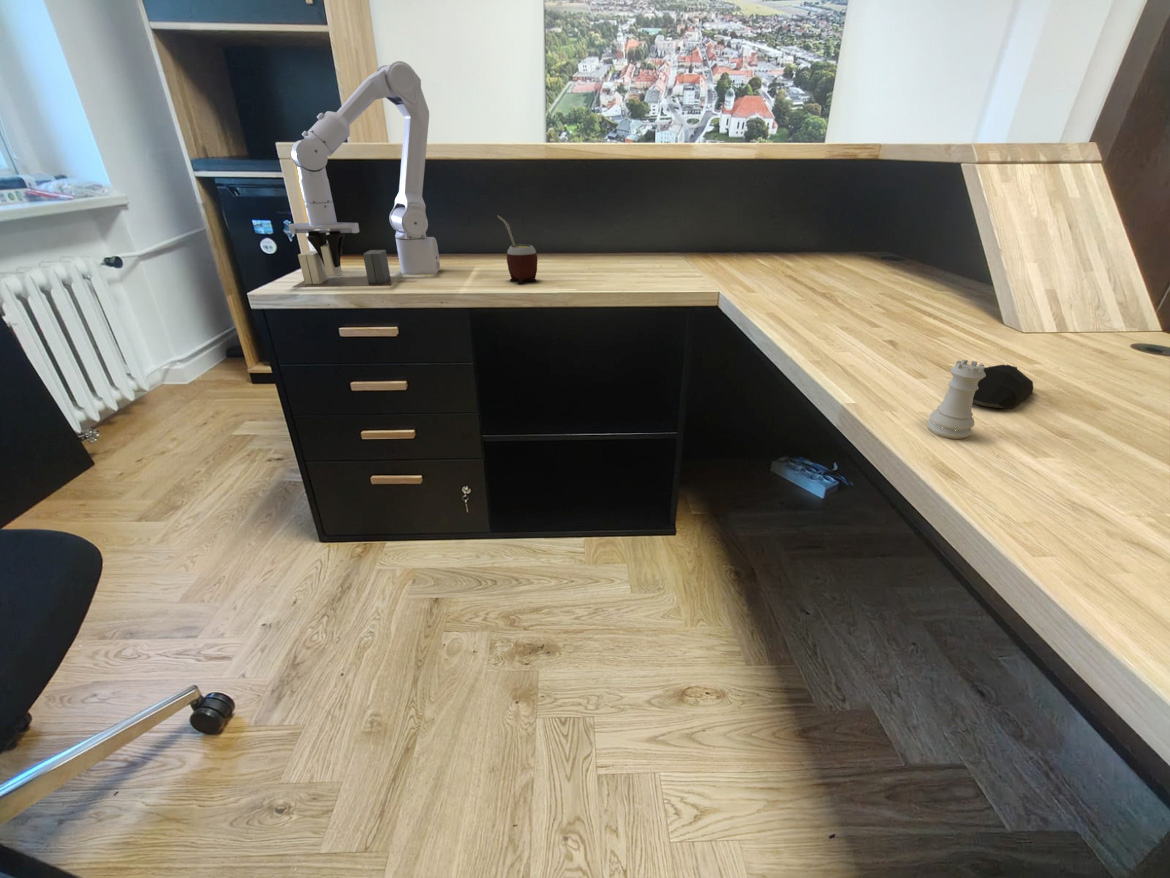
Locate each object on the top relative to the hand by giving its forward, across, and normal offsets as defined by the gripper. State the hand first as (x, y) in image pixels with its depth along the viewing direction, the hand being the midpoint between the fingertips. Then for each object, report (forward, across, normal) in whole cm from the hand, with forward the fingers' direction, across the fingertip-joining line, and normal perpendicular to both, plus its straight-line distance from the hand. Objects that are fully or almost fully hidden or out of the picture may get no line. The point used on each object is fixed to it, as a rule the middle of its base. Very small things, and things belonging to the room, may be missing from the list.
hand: (332, 266), depth 127 cm
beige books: (+3, -4, 0) cm, 6 cm away
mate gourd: (+4, +43, 0) cm, 43 cm away
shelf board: (+4, +3, 0) cm, 5 cm away
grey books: (+3, +10, 0) cm, 11 cm away
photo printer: (+4, -6, +10) cm, 13 cm away
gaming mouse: (+4, +109, -68) cm, 129 cm away
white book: (+2, 0, 0) cm, 2 cm away
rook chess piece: (+4, +96, -78) cm, 124 cm away
